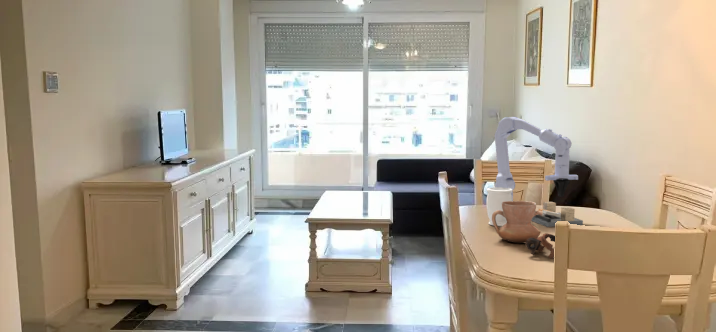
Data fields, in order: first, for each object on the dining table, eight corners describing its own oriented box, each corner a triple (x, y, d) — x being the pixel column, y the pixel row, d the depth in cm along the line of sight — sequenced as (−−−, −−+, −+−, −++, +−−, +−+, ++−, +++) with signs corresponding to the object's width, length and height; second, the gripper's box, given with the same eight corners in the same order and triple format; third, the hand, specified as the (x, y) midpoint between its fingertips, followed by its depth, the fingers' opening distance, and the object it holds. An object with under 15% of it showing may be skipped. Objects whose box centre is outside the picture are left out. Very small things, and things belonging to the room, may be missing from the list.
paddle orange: (541, 214, 247) (542, 209, 247) (537, 212, 250) (538, 208, 250) (555, 217, 248) (556, 213, 248) (551, 216, 252) (553, 211, 251)
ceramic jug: (541, 237, 218) (542, 200, 216) (543, 246, 204) (544, 206, 202) (492, 235, 222) (492, 199, 221) (491, 244, 208) (491, 205, 207)
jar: (490, 220, 249) (491, 186, 247) (514, 223, 243) (515, 188, 242) (482, 225, 240) (483, 189, 238) (507, 228, 234) (508, 191, 233)
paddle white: (545, 215, 243) (546, 211, 243) (541, 214, 247) (542, 209, 246) (560, 219, 245) (561, 214, 245) (556, 217, 248) (557, 213, 248)
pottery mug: (548, 251, 199) (559, 233, 195) (557, 270, 191) (570, 252, 187) (517, 244, 196) (528, 226, 192) (525, 263, 188) (537, 244, 184)
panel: (547, 227, 236) (547, 210, 235) (526, 218, 254) (526, 202, 253) (582, 225, 239) (583, 208, 238) (559, 217, 257) (559, 201, 256)
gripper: (551, 166, 245) (550, 198, 246) (582, 165, 247) (581, 197, 249) (542, 164, 251) (542, 195, 253) (573, 164, 254) (572, 194, 256)
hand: (560, 196), depth 251 cm, fingers closed
